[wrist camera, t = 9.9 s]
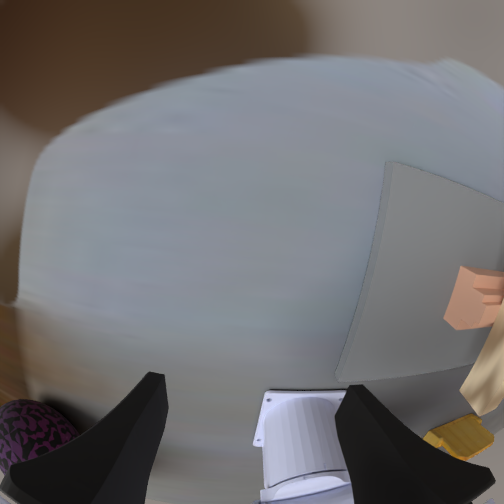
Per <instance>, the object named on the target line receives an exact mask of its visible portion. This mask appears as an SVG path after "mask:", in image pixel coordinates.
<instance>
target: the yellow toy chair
mask: <svg viewBox="0 0 504 504" xmlns="http://www.w3.org/2000/svg"><path fill="white" fill-rule="evenodd" d="M481 422H482V419H481V418H479V417H477V416H475V415H473V414H472V413H471V414H468V415H466V416H464V417H461V418H459V419H457V420H455V421H452V422H450V423H447V424H445V425H442V426H440V427H437V428H434V429H432V430H429V431H428V433H427V434H426V435H425V437H424V438H423V440H425V441H426V442H428V443H429V444H431V445H432V446H434V447H436V448H438V447H441V446H443V447H444V448H445V449H446V450H447V451H448V452H449V453H450V454H451V455H452V456H453V457H455V458H458V459H460V460H465V461H466V460H468V459H470V458H472V457H474V456H475V455H477V454H479V453H480V452H482V451H483V450H485V449H487V448H488V447H490V446H491V445H492V444H493V442H494V435H493V434H491V433H490V432H489V431H488V430H486V429H485V428H484V427H482V426H481V425H480V424H481Z"/></svg>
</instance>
